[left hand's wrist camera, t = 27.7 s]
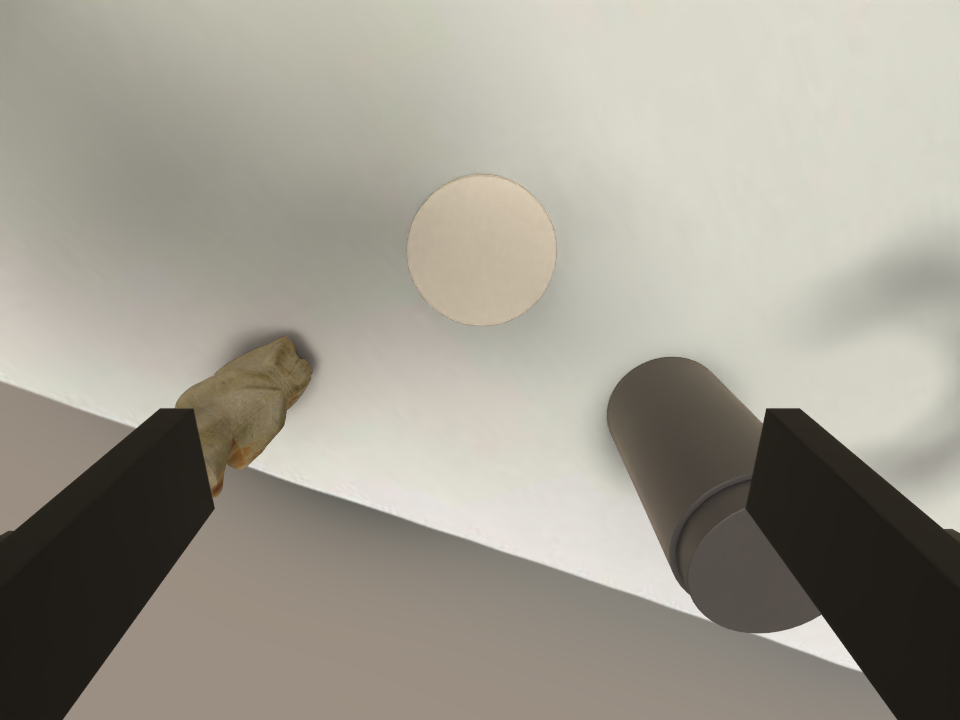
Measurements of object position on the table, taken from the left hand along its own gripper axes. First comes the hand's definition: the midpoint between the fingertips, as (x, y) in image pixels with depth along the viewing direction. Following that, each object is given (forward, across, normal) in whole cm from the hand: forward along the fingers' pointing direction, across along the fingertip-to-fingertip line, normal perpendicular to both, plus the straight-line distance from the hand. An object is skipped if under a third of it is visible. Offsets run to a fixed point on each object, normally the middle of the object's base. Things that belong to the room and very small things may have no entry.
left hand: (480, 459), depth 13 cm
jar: (+28, +14, -13) cm, 34 cm away
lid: (+26, 0, 0) cm, 26 cm away
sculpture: (+28, -16, -9) cm, 33 cm away
